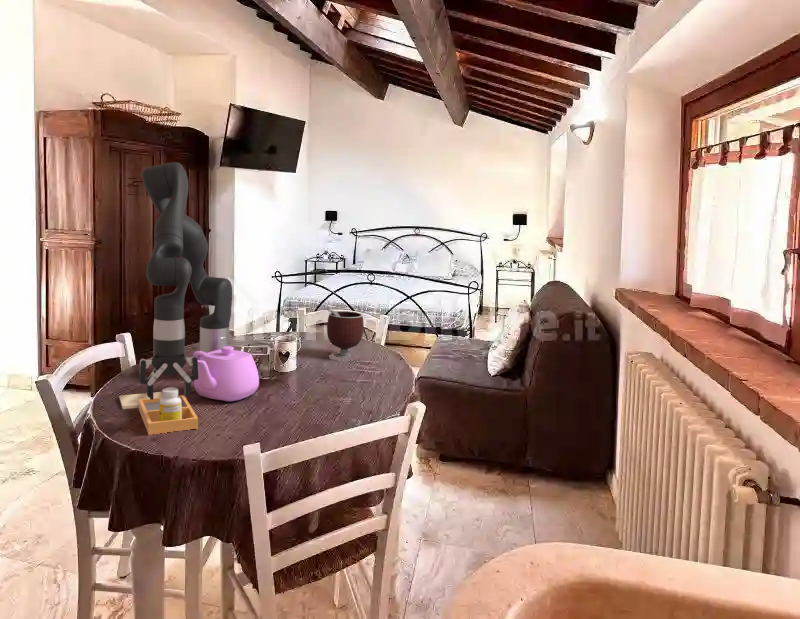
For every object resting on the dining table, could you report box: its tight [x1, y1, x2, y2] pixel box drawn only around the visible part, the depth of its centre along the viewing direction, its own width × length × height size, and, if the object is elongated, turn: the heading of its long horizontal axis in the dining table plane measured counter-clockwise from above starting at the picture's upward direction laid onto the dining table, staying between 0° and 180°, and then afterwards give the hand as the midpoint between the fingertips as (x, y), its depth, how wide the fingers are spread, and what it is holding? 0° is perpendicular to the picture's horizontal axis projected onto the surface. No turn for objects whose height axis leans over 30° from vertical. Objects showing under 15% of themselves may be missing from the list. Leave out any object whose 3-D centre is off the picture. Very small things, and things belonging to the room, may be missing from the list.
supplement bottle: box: [159, 386, 182, 421], centre depth 165 cm, size 5×5×10 cm
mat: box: [118, 391, 163, 410], centre depth 183 cm, size 12×10×1 cm
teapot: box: [192, 345, 260, 403], centre depth 189 cm, size 23×21×15 cm
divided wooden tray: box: [138, 394, 199, 436], centre depth 170 cm, size 12×20×3 cm, turn 29°
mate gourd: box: [326, 308, 365, 358], centre depth 243 cm, size 16×14×20 cm
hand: (168, 397), depth 164 cm, fingers open, 8 cm apart
